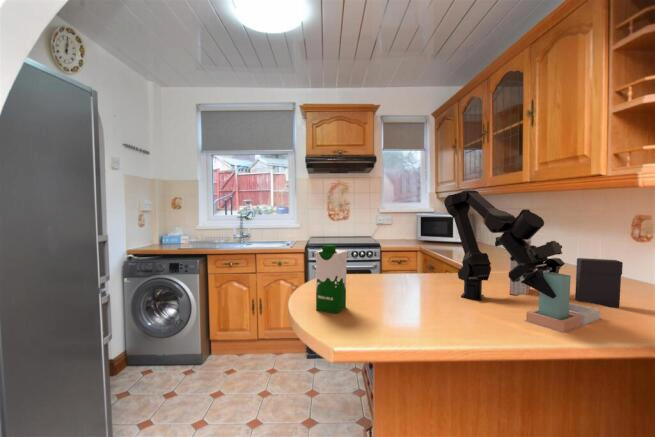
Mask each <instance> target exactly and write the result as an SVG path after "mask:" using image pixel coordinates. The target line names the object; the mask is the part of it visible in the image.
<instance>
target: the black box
mask: <svg viewBox="0 0 655 437" xmlns="http://www.w3.org/2000/svg"><path fill="white" fill-rule="evenodd" d="M623 264H624V263H623V262H622V261H620V260H617V259H604V258H602V259H600V258H587V257H586V258H585V257H584V258H583V257H578V258H576V272H575V275H576V276H575V293H574V294H575V298H574V300H575V301H577V302H581V303H589V304H594V305H598V306H604V307H607V308H615V309H618V308H620V303H621V285H622V284H621V282H622V275H623Z"/></svg>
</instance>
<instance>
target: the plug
mask: <svg viewBox="0 0 655 437" xmlns="http://www.w3.org/2000/svg"><path fill="white" fill-rule="evenodd" d="M543 277H544V279H545V280H546V282H547V283H548V284H549V286H550V287H551V289H552V290H553V292H554V293H555V295H556V297H555V298H550V297H549V296H547V295H545V294H543V293H541V292H540V291H538V292H539V293H538V295H539V296H538V308H539V313H538V314H540V315H544V316H547V317H551V318H554V319H558V320H564V319H567V318H569V303H571V302H570V298H571V297H570V295H571V278H572V277H571V274H565V273H560V272H559V273H554V272H546V273H543Z"/></svg>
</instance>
